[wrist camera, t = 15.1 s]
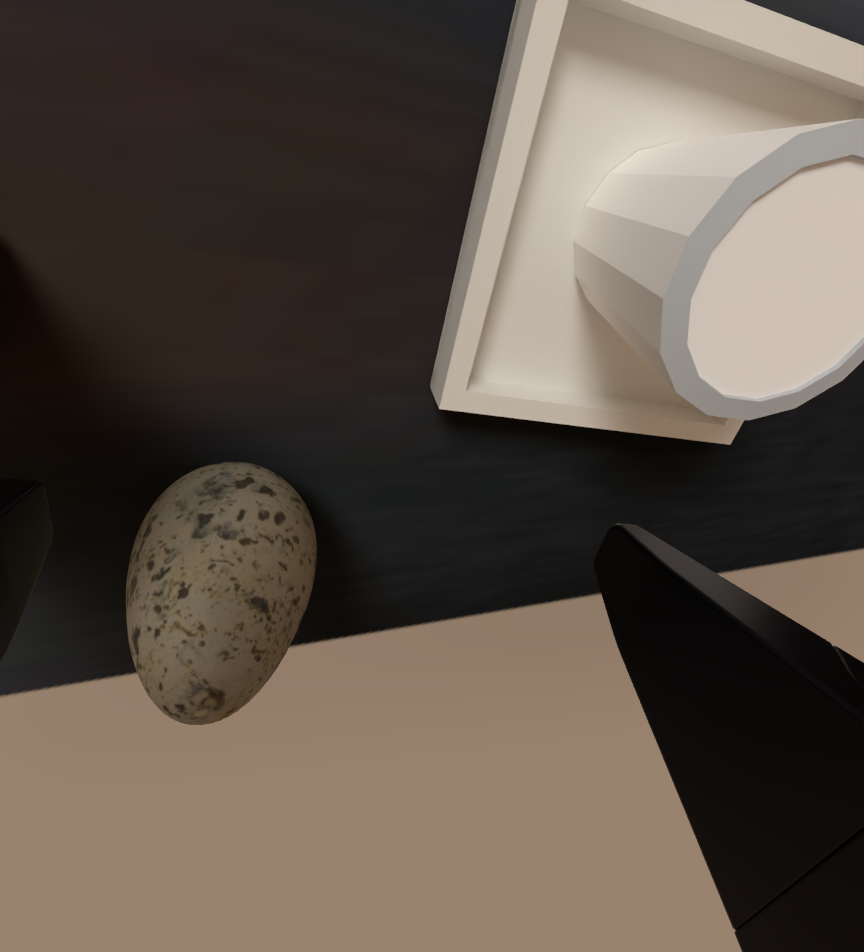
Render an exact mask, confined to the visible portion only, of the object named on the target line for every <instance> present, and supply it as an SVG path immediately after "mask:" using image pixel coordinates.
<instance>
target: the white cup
mask: <svg viewBox="0 0 864 952" xmlns="http://www.w3.org/2000/svg"><path fill="white" fill-rule="evenodd" d="M574 260H575V275H576V278H577V280H578V282H579V284H580V286H581V288H582V290H583V292H584V294H585V296H586V299H587V300H588V302H589V303H590V304H591V305H592V306H593V307H594V308H595V309H596V310H597V311H598V312H599V313H600V314H601V315H602V316H603V317H604V318H605V319H606V320H607V321H608V322H609V323H610V324H611V325H612V326H613V327H614V329H615V330H616V331H617V332H618V333H619V334H620V335H621V336H622V337H623V338H624V339H625V340H626V341H627V342H628V343H629V344H630V345H631V346H632V347H633V348H634V349H635V350H636V351H637V352H638V353H639V354H640V356H641V357H642V358H643V359H644V360H645V361H646V362H647V363H648V364H649V365H650V366H651V367H652V368H653V369H654V370H655V371H656V372H657V373H658V374H659V375H660V376H661V377H662V378H663V379H664V380H665V381H666V383H667V384H668V385H669V386H670V387H671V388H672V389H673V390H674V391H675V392H676V393H677V394H679V395H680V396H682V397H683V398H684V399H686V400H687V401H688V402H690V403H691V404H693V405H694V406H695V407H697V408H698V409H700V410H701V411H702V412H704V413H705V414H706V415H709V416H717V417H726V418H734V419H742V420H752V419H756V418H759V417H763V416H767V415H771V414H775V413H778V412H782V411H786V410H790V409H794V408H796V407H798V406H800V405H801V404H803V403H805V402H806V401H808V400H810V399H812V398H813V397H815V396H817V395H818V394H820V393H822V392H823V391H825V390H827V389H828V388H830V387H832V386H834V385H835V384H837V383H839V382H840V381H842V380H843V379H844V378H845V377H846V376H847V375H849V374H850V373H851V372H852V371H853V370H854V369H855V368H856V367H857V366H858V365H859V364H860V363H861V362H862V361H863V360H864V119H862V118H860V119H852V120H844V121H836V122H828V123H820V124H812V125H804V126H797V127H789V128H781V129H773V130H765V131H757V132H749V133H741V134H733V135H725V136H718V137H710V138H702V139H694V140H686V141H678V142H671V143H667V144H663V145H659V146H655V147H651V148H647V149H643V150H639V151H637V152H636V153H635V154H633V155H632V156H631V157H629V158H628V159H626V160H625V161H624V162H622V163H621V164H620V165H618V166H617V167H616V168H614V169H613V170H611V171H610V172H609V173H608V174H607V175H606V176H605V178H604V179H603V181H602V182H601V183H600V185H599V186H598V188H597V189H596V191H595V192H594V193H593V195H592V196H591V198H590V199H589V201H588V202H587V203H586V205H585V207H584V210H583V213H582V217H581V220H580V223H579V226H578V229H577V233H576V236H575V239H574Z"/></svg>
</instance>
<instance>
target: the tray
mask: <svg viewBox="0 0 864 952" xmlns="http://www.w3.org/2000/svg"><path fill="white" fill-rule="evenodd" d="M860 118H862V119H864V46H862V45H860V44H857V43H854V42H852V41H849V40H847V39H844V38H841V37H839V36H836V35H834V34H831V33H828V32H826V31H823V30H820V29H818V28H815V27H813V26H810V25H807V24H805V23H802V22H799V21H797V20H794V19H792V18H789V17H786V16H784V15H781V14H778V13H776V12H773V11H771V10H768V9H765V8H763V7H760V6H757V5H755V4H752V3H750V2H747V1H744V0H516V4H515V9H514V13H513V17H512V22H511V26H510V31H509V35H508V40H507V44H506V49H505V53H504V58H503V62H502V67H501V71H500V75H499V80H498V84H497V89H496V93H495V98H494V102H493V107H492V111H491V116H490V120H489V125H488V129H487V134H486V138H485V142H484V147H483V151H482V156H481V160H480V165H479V169H478V174H477V178H476V183H475V187H474V192H473V196H472V200H471V205H470V209H469V214H468V218H467V223H466V227H465V232H464V236H463V241H462V245H461V250H460V254H459V259H458V263H457V267H456V272H455V276H454V281H453V285H452V290H451V294H450V299H449V303H448V308H447V312H446V317H445V321H444V325H443V330H442V334H441V339H440V343H439V348H438V352H437V357H436V361H435V366H434V370H433V375H432V379H431V384H430V388H431V390H432V393H433V395H434V398H435V400H436V403H437V405H438V408H439V409H443V410H451V411H460V412H468V413H476V414H484V415H492V416H500V417H508V418H516V419H525V420H533V421H541V422H549V423H557V424H565V425H573V426H582V427H590V428H598V429H606V430H614V431H622V432H630V433H638V434H647V435H655V436H663V437H671V438H679V439H687V440H695V441H704V442H712V443H720V444H728V445H730V444H731V443H732V441H733V439H734V437H735V436H736V434H737V432H738V430H739V429H740V427H741V425H742V423H743V422H744V420H742V419H734V418H726V417H717V416H709V415H706V414H705V413H704V412H702V411H701V410H700V409H698V408H697V407H695V406H694V405H693V404H691V403H690V402H688V401H687V400H686V399H684V398H683V397H682V396H680V395H679V394H677V393H676V392H675V391H674V390H673V389H672V388H671V387H670V386H669V385H668V384H667V383H666V381H665V380H664V379H663V378H662V377H661V376H660V375H659V374H658V373H657V372H656V371H655V370H654V369H653V368H652V367H651V366H650V365H649V364H648V363H647V362H646V361H645V360H644V359H643V358H642V357H641V356H640V354H639V353H638V352H637V351H636V350H635V349H634V348H633V347H632V346H631V345H630V344H629V343H628V342H627V341H626V340H625V339H624V338H623V337H622V336H621V335H620V334H619V333H618V332H617V331H616V330H615V329H614V327H613V326H612V325H611V324H610V323H609V322H608V321H607V320H606V319H605V318H604V317H603V316H602V315H601V314H600V313H599V312H598V311H597V310H596V309H595V308H594V307H593V306H592V305H591V304H590V303H589V302H588V300H587V299H586V296H585V294H584V292H583V290H582V288H581V286H580V284H579V282H578V280H577V278H576V275H575V260H574V239H575V236H576V233H577V229H578V226H579V223H580V220H581V217H582V213H583V210H584V207H585V205H586V203H587V202H588V201H589V199H590V198H591V196H592V195H593V193H594V192H595V191H596V189H597V188H598V186H599V185H600V183H601V182H602V181H603V179H604V178H605V176H606V175H607V174H608V173H609V172H610V171H611V170H613V169H614V168H616V167H617V166H618V165H620V164H621V163H622V162H624V161H625V160H626V159H628V158H629V157H631V156H632V155H633V154H635V153H636V152H637V151H639V150H643V149H647V148H651V147H655V146H659V145H663V144H667V143H671V142H678V141H686V140H694V139H702V138H710V137H718V136H725V135H733V134H741V133H749V132H757V131H765V130H773V129H781V128H789V127H797V126H804V125H812V124H820V123H828V122H836V121H844V120H852V119H860Z"/></svg>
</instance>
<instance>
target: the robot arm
mask: <svg viewBox="0 0 864 952" xmlns="http://www.w3.org/2000/svg"><path fill="white" fill-rule="evenodd" d="M52 536H53V527H52V521H51V516H50V511H49V506H48V501H47V496H46V491H45V488H44V486H43V484H42V483H40V482H39V481H36V480H26V479H12V478H7V479H2V480H0V662H1V660H2V659H3V657H4V655H5V653H6V651H7V649H8V647H9V645H10V643H11V641H12V639H13V637H14V635H15V632H16V630H17V628H18V625H19V623H20V621H21V618H22V616H23V613H24V611H25V608H26V606H27V603H28V600H29V598H30V595H31V593H32V590H33V588H34V585H35V583H36V580H37V578H38V575H39V573H40V570H41V568H42V565H43V563H44V560H45V557H46V555H47V552H48V550H49V547H50V545H51V541H52ZM594 568H595V573H596V577H597V580H598V583H599V587H600V590H601V594H602V597H603V600H604V603H605V607H606V610H607V614H608V617H609V620H610V624H611V627H612V630H613V634H614V637H615V640H616V643H617V646H618V648H619V651H620V654H621V656H622V659H623V661H624V663H625V665H626V668H627V671H628V673H629V676H630V678H631V681H632V683H633V686H634V688H635V690H636V693H637V695H638V697H639V700H640V703H641V705H642V708H643V710H644V712H645V715H646V717H647V720H648V722H649V725H650V727H651V729H652V732H653V734H654V737H655V739H656V742H657V744H658V747H659V749H660V751H661V754H662V756H663V759H664V761H665V764H666V766H667V768H668V771H669V773H670V776H671V778H672V780H673V783H674V786H675V788H676V790H677V793H678V795H679V798H680V800H681V802H682V805H683V807H684V810H685V812H686V814H687V817H688V820H689V822H690V824H691V827H692V829H693V832H694V834H695V837H696V839H697V841H698V844H699V846H700V849H701V851H702V854H703V856H704V859H705V861H706V863H707V866H708V868H709V871H710V873H711V876H712V878H713V880H714V883H715V885H716V888H717V890H718V893H719V895H720V898H721V900H722V902H723V905H724V907H725V910H726V912H727V915H728V917H729V920H730V922H731V924H732V927H733V928H734V929H735V930H736V931H735V935H736V938H737V940H738V943H739V945H740V947H741V950H742V952H864V663H863V662H861V661H859V660H858V659H856V658H854V657H853V656H851V655H850V654H848V653H846V652H845V651H843V650H842V649H840V648H838V647H836V646H832V645H831V643H830V642H828V641H826V640H825V639H823V638H821V637H820V636H818V635H817V634H815V633H813V632H812V631H810V630H808V629H807V628H805V627H803V626H802V625H800V624H798V623H797V622H795V621H794V620H792V619H790V618H788V617H787V616H785V615H784V614H782V613H780V612H779V611H777V610H775V609H774V608H772V607H770V606H769V605H767V604H766V603H763V602H762V601H761V600H759V599H757V598H756V597H754V596H752V595H751V594H749V593H747V592H746V591H744V590H742V589H741V588H739V587H738V586H736V585H734V584H732V583H731V582H729V581H728V580H726V579H724V578H723V577H721V576H719V575H718V574H716V573H714V572H713V571H711V570H710V569H708V568H706V567H705V566H703V565H701V564H700V563H698V562H696V561H695V560H693V559H691V558H690V557H688V556H686V555H685V554H683V553H681V552H680V551H678V550H677V549H675V548H673V547H672V546H670V545H668V544H667V543H665V542H663V541H662V540H660V539H658V538H657V537H655V536H653V535H652V534H650V533H649V532H647V531H645V530H644V529H642V528H640V527H639V526H637V525H633V524H619V523H617V524H614V525H612V526H611V527H610V528H609V530H608V532H607V534H606V536H605V538H604V540H603V542H602V545H601V547H600V549H599V551H598V553H597V555H596V557H595V562H594Z"/></svg>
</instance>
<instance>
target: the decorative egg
mask: <svg viewBox="0 0 864 952" xmlns="http://www.w3.org/2000/svg"><path fill="white" fill-rule="evenodd" d="M316 560H317V544H316V535H315V529H314V525H313V521H312V518H311V516H310V513H309V511H308V509H307V507H306V505H305V503H304V501H303V500H302V498H301V497H300V495H299V494H298V493H297V492H296V490H295V489H294V488H293V487H292V486H291V485H290V484H289V483H288V482H287V481H286V480H284V479H283V478H282V477H280V476H279V475H277V474H276V473H274V472H272V471H270V470H268V469H266V468H264V467H261V466H258V465H255V464H250V463H244V462H222V463H216V464H211V465H207V466H204V467H201V468H199V469H196V470H194V471H192V472H190V473H188V474H186V475H184V476H183V477H181V478H180V479H178V480H177V481H175V482H174V483H173V484H172V485H171V486H170V487H168V488H167V489H166V490H165V491H164V492H163V493H162V494H161V495H160V496H159V498H158V499H157V500H156V501H155V503H154V504H153V505H152V507H151V508H150V510H149V511H148V513H147V515H146V517H145V518H144V520H143V522H142V524H141V526H140V529H139V531H138V534H137V536H136V539H135V542H134V546H133V549H132V553H131V557H130V562H129V568H128V575H127V584H126V618H127V630H128V639H129V645H130V650H131V654H132V658H133V661H134V665H135V668H136V670H137V673H138V675H139V678H140V680H141V682H142V685H143V686H144V689H145V690H146V692H147V694H148V696H149V697H150V698H151V700H152V701H153V702H154V703H155V704H156V706H157V707H158V708H159V709H160V710H162V712H163V713H165V714H166V715H167V716H169V717H170V718H172V719H174V720H176V721H178V722H181V723H185V724H190V725H203V724H209V723H213V722H217V721H220V720H222V719H224V718H226V717H228V716H230V715H232V714H233V713H235V712H236V711H238V710H239V709H240V708H242V707H243V706H244V705H245V704H247V703H248V702H249V701H250V700H251V699H252V698H253V697H254V696H255V695H256V694H257V693H258V692H259V691H260V689H261V688H262V687H263V686H264V684H265V683H266V682H267V681H268V680H269V678H270V677H271V676H272V674H273V673H274V671H275V670H276V668H277V667H278V665H279V664H280V662H281V660H282V659H283V657H284V655H285V654H286V652H287V650H288V648H289V646H290V644H291V642H292V640H293V638H294V636H295V634H296V632H297V630H298V627H299V625H300V622H301V620H302V618H303V615H304V613H305V610H306V607H307V604H308V602H309V598H310V594H311V591H312V587H313V582H314V577H315V570H316Z"/></svg>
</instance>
